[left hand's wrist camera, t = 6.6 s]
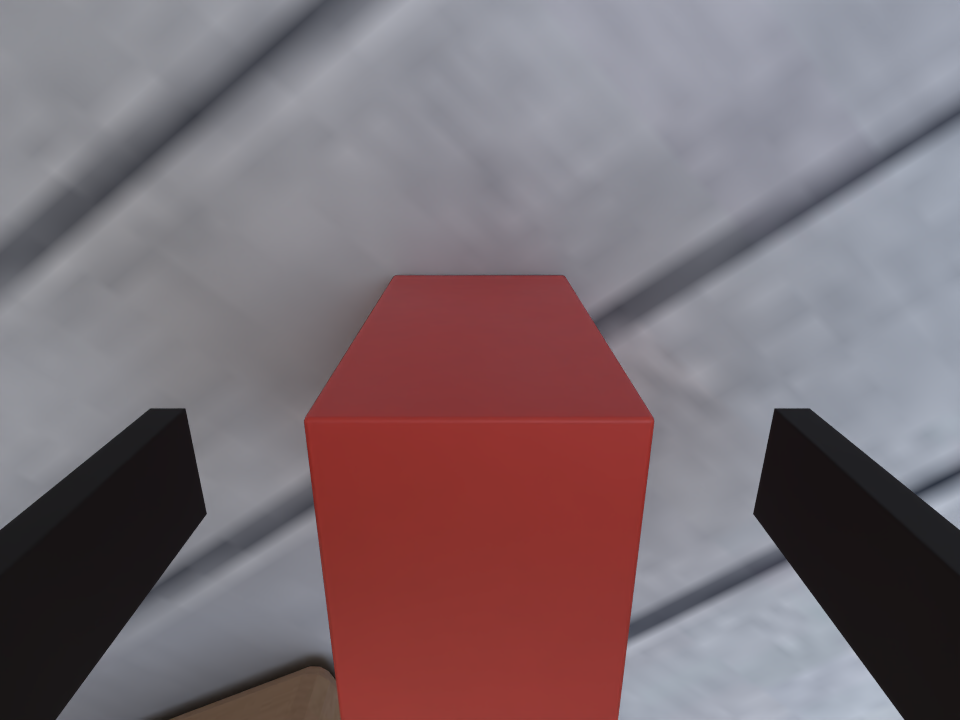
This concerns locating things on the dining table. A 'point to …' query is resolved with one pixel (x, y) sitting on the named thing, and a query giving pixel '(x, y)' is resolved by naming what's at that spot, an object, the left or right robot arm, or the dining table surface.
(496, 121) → the dining table surface
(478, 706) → the block
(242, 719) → the brown l-shaped piece
